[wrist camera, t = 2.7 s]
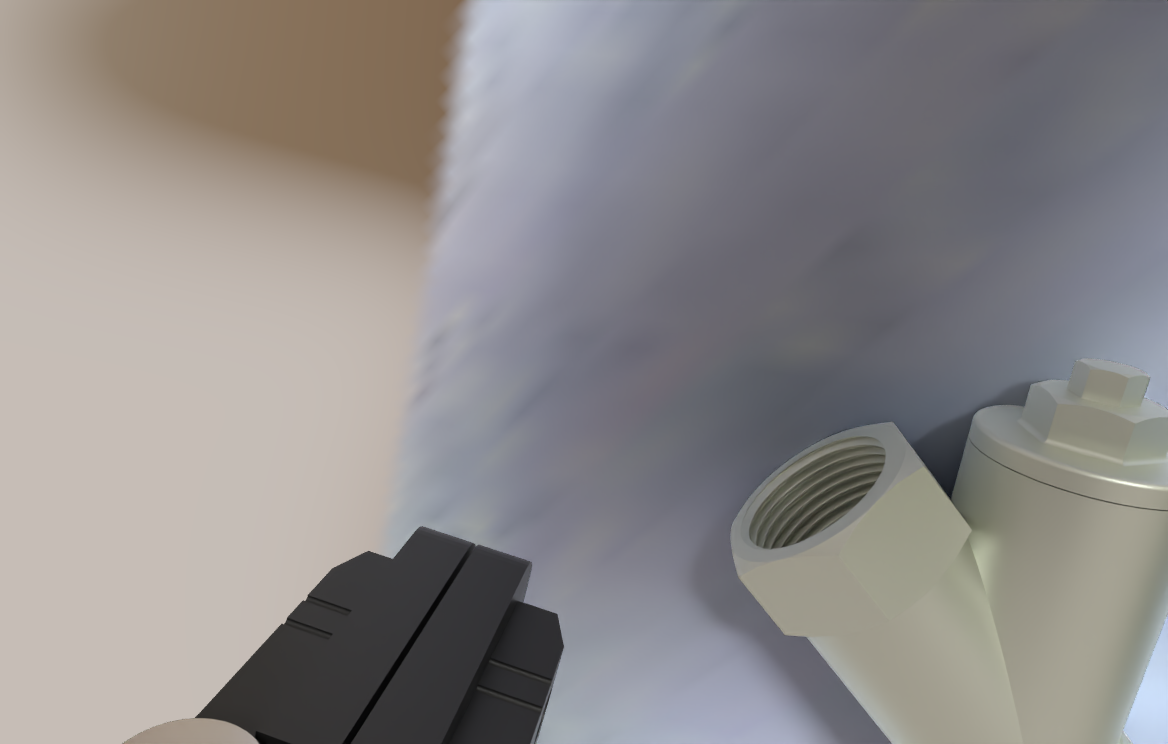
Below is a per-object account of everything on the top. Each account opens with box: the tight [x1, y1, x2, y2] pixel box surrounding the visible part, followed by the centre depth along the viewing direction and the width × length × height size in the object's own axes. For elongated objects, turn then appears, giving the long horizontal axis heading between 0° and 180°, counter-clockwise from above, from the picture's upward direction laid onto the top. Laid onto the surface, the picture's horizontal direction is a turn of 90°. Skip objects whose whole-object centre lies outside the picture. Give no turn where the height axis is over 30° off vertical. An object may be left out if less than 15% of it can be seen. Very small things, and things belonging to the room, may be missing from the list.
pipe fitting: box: [730, 358, 1168, 744], centre depth 13 cm, size 8×4×7 cm
